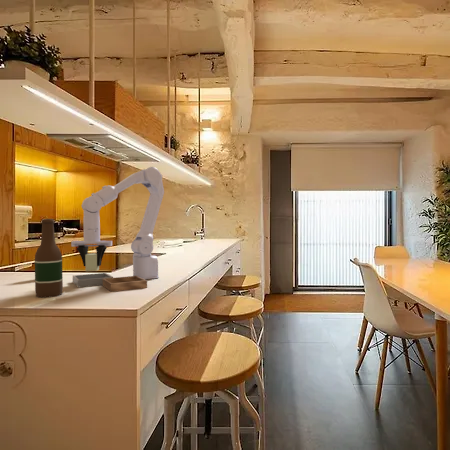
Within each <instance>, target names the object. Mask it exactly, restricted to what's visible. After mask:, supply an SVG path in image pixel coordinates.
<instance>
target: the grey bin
mask: <svg viewBox="0 0 450 450" xmlns="http://www.w3.org/2000/svg"><path fill="white" fill-rule="evenodd" d="M106 278H114V276H112V275H110V274H108V273H107V272H100V273H89V274H88V273H87V274H76V275H72V283H73V284H74V285H75V286H76V287H77V286H78V287H77V288H85V286H87V287H94V286H103V279H106Z"/></svg>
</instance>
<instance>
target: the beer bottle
mask: <svg viewBox="0 0 450 450" xmlns="http://www.w3.org/2000/svg"><path fill="white" fill-rule="evenodd" d="M40 223H41V241H40V245H39V246H38V248H37V249H36V252H35V254H34V286H35V287H34V290H35V291H34V292H35V297H37V298H40V299H41V298H54V297H60V295H63V292H64V290H63V288H64V287H63V286H64V284H63V283H64V282H63V256H62V255H63V254H62V252H61V250H60V248H59V247H58V245H57V242H56V235H55V227H54V223H55V220H54V219H53V218H42V219H41V222H40Z"/></svg>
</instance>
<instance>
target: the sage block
mask: <svg viewBox="0 0 450 450" xmlns="http://www.w3.org/2000/svg"><path fill="white" fill-rule="evenodd" d="M84 267H85V272H97V271H99V270H100V266H97V253H88V254H86V255H85V266H84Z"/></svg>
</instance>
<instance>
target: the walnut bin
mask: <svg viewBox="0 0 450 450" xmlns="http://www.w3.org/2000/svg"><path fill="white" fill-rule="evenodd" d="M102 286H103V288H105V289H107V290H109V291H110V292H119V291H121V292H122V291H127V290H138V289H147V288H148V279H143V278H140V277H138V276H133V275H132V276H131V275H130V276H119V277H113V278H106V279H103V285H102Z"/></svg>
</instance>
